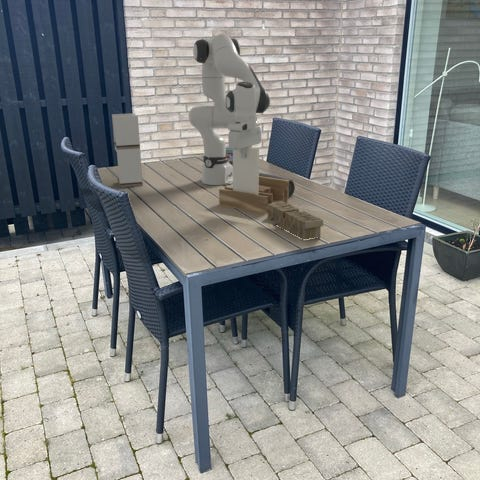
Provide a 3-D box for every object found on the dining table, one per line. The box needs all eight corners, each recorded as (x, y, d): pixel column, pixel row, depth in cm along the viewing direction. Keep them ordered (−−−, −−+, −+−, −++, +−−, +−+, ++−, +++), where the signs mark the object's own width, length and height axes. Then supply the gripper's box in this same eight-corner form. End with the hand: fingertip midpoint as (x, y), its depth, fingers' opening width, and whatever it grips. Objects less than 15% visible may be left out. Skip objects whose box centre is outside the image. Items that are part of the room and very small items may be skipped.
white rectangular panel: (235, 191, 227) (234, 145, 220) (258, 195, 221) (259, 148, 214) (233, 191, 226) (232, 145, 219) (256, 195, 220) (257, 148, 213)
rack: (243, 197, 245) (243, 173, 241) (288, 205, 233) (288, 180, 229) (218, 208, 229) (218, 182, 225) (265, 217, 217) (266, 190, 213)
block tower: (265, 222, 214) (304, 243, 189) (265, 203, 211) (305, 221, 186) (282, 220, 217) (322, 239, 192) (282, 200, 215) (323, 217, 190)
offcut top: (244, 188, 235) (244, 183, 235) (270, 193, 228) (270, 187, 227) (236, 191, 231) (236, 186, 230) (263, 196, 223) (263, 190, 222)
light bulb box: (225, 164, 312) (225, 146, 309) (227, 162, 319) (227, 144, 315) (242, 165, 311) (242, 147, 307) (244, 163, 317) (244, 145, 313)
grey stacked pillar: (139, 180, 276) (134, 113, 263) (142, 185, 266) (137, 116, 254) (117, 182, 272) (111, 114, 260) (120, 187, 263) (114, 117, 251)
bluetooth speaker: (246, 193, 253) (246, 173, 249) (258, 189, 259) (258, 169, 255) (282, 202, 238) (283, 180, 235) (295, 198, 244) (295, 177, 241)
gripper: (252, 120, 223) (252, 152, 228) (225, 126, 207) (225, 160, 211) (265, 121, 219) (264, 154, 224) (238, 127, 203) (238, 162, 208)
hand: (245, 157), depth 218 cm, fingers closed on white rectangular panel, 2 cm apart
